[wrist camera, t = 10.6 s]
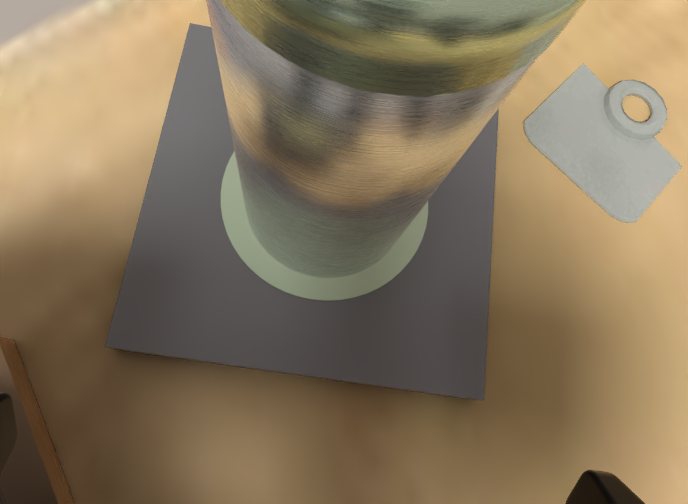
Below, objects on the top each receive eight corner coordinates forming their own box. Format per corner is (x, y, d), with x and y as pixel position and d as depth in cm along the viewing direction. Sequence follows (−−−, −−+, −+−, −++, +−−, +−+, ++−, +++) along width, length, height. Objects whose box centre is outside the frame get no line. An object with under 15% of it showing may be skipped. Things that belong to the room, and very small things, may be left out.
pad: (472, 399, 17) (485, 400, 16) (115, 349, 16) (104, 346, 15) (489, 97, 21) (500, 81, 20) (194, 41, 20) (189, 21, 19)
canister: (438, 190, 18) (784, -255, 6) (342, 314, 17) (530, 71, 4) (313, 96, 19) (382, -510, 6) (207, 208, 17) (8, -306, 5)
